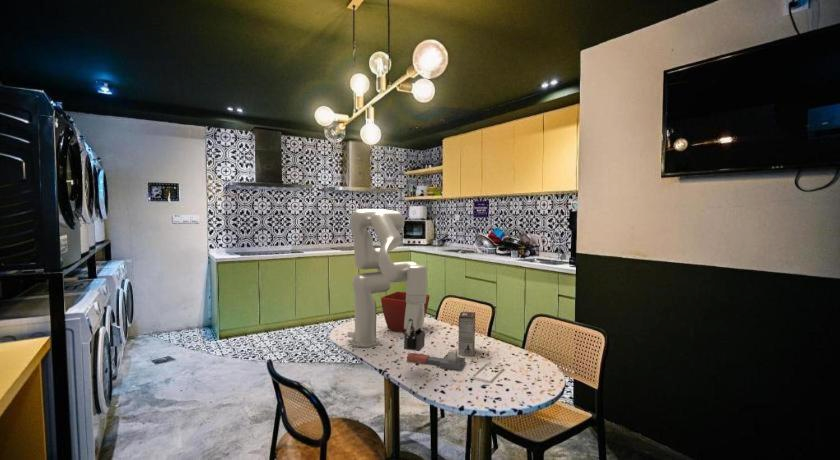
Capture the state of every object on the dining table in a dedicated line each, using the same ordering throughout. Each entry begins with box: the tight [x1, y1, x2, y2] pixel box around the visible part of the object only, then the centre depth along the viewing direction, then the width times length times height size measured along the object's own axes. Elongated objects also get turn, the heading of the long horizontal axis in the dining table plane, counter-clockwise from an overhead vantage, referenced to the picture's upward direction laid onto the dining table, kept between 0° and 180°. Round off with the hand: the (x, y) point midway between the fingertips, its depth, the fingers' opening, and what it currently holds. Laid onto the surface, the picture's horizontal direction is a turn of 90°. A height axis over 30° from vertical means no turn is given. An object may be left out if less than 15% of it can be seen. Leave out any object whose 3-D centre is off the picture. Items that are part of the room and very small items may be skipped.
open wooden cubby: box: [403, 329, 426, 352], centre depth 146 cm, size 6×6×6 cm
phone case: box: [470, 362, 504, 384], centre depth 144 cm, size 7×1×15 cm
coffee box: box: [457, 311, 476, 356], centre depth 166 cm, size 9×6×16 cm
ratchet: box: [406, 349, 466, 371], centre depth 153 cm, size 22×8×6 cm, turn 72°
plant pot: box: [380, 291, 431, 333], centre depth 198 cm, size 19×19×17 cm
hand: (414, 345), depth 146 cm, fingers closed on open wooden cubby, 6 cm apart
